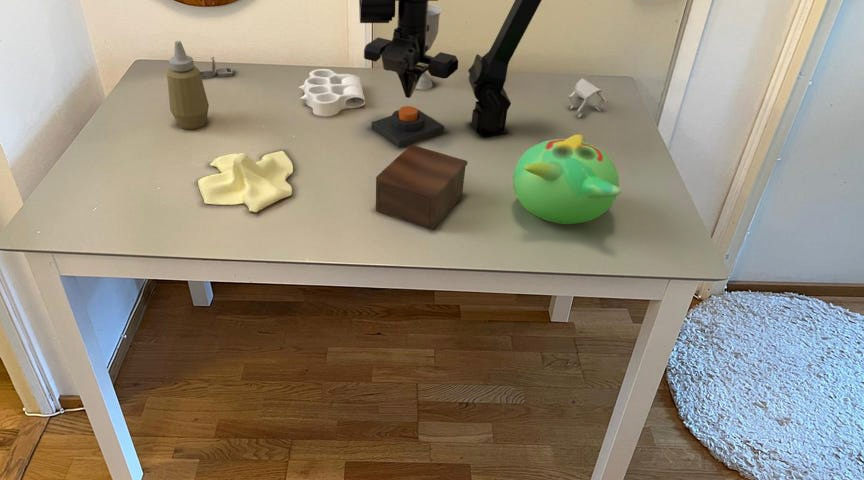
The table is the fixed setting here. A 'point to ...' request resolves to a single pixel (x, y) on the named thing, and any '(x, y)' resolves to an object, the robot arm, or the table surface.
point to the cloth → (248, 181)
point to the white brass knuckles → (332, 92)
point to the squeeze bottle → (186, 90)
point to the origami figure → (587, 93)
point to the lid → (422, 171)
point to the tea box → (418, 203)
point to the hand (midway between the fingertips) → (408, 97)
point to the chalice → (430, 40)
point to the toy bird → (566, 181)
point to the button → (408, 113)
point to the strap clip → (220, 72)
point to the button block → (407, 129)
